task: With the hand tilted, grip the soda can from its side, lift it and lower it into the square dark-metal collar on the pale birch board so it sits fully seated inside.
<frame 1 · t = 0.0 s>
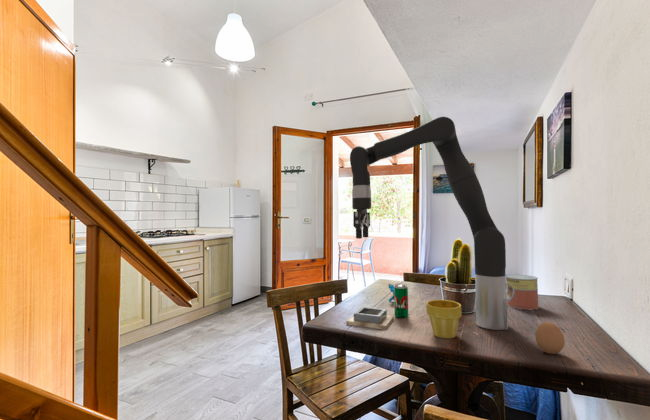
hand: (362, 237, 128), 29 cm above the table, tool pointing down, fingers open, 8 cm apart
collar: (370, 314, 115), on the board, point 2 cm above the table
plant pot: (444, 335, 101), on the table
egg: (550, 354, 86), on the table
soda can: (401, 317, 120), on the table
canned food: (522, 306, 133), on the table
board: (370, 321, 115), on the table
blue knobbly figurine: (397, 302, 143), on the table
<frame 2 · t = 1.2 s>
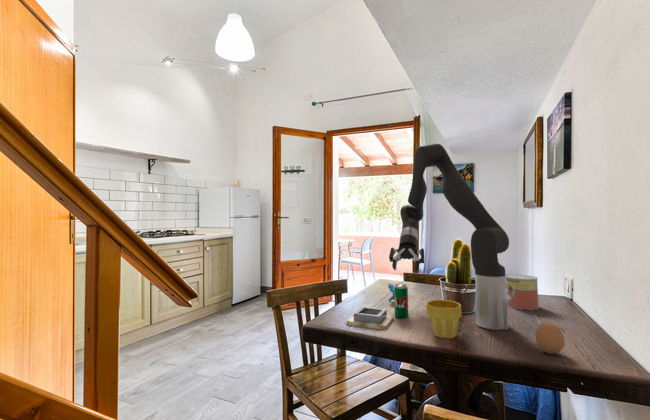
hand: (405, 269, 131), 16 cm above the table, tool tilted 45°, fingers open, 8 cm apart
nothing on the table moved.
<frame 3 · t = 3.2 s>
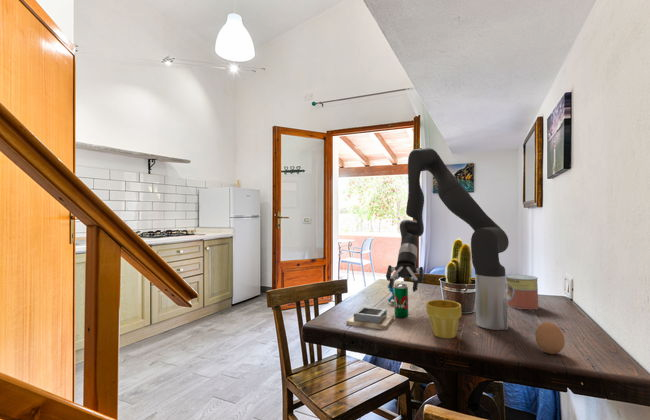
hand: (402, 289, 124), 9 cm above the table, tool tilted 45°, fingers open, 8 cm apart
nothing on the table moved.
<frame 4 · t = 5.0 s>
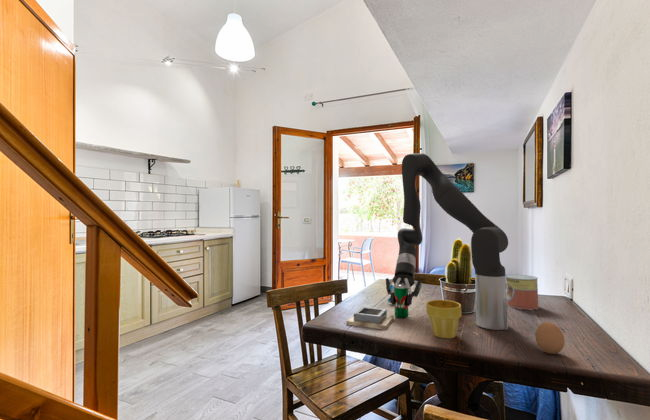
hand: (400, 304, 119), 5 cm above the table, tool tilted 45°, fingers closed on soda can, 5 cm apart
soda can: (401, 317, 120), on the table, touching gripper
everything else where it was.
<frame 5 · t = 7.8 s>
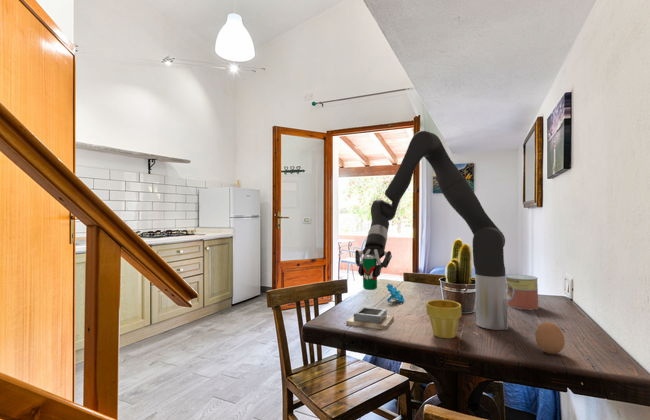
hand: (368, 275, 114), 17 cm above the table, tool tilted 45°, fingers closed on soda can, 5 cm apart
soda can: (370, 289, 116), point 11 cm above the table, touching gripper
everything else where it was.
when the fingers open (7 cm above the table, at t = 10.5 s): soda can stays where it is, resting on board.
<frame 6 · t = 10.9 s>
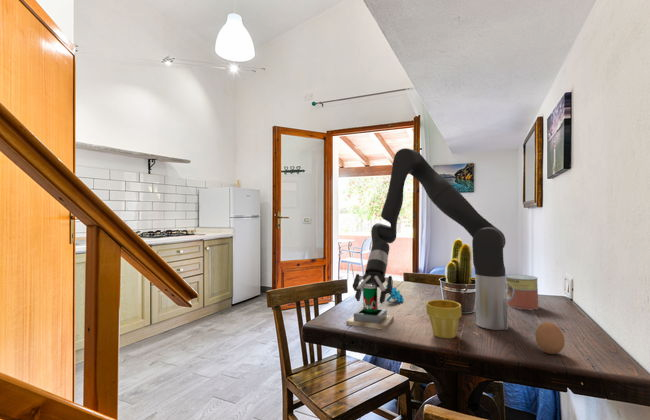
hand: (369, 301, 114), 8 cm above the table, tool tilted 45°, fingers open, 8 cm apart
soda can: (370, 318, 115), point 1 cm above the table, touching board
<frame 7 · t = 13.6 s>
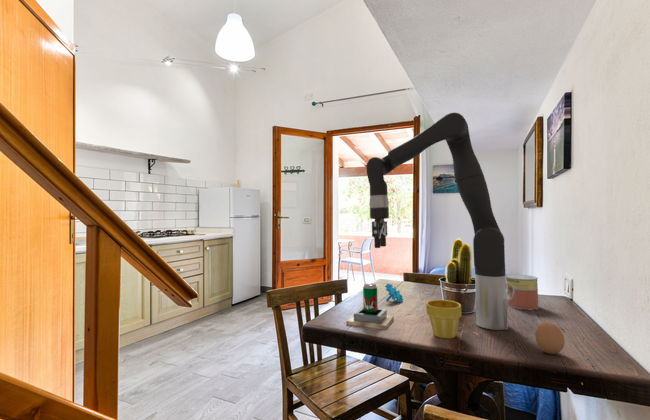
hand: (380, 247, 130), 25 cm above the table, tool pointing down, fingers open, 8 cm apart
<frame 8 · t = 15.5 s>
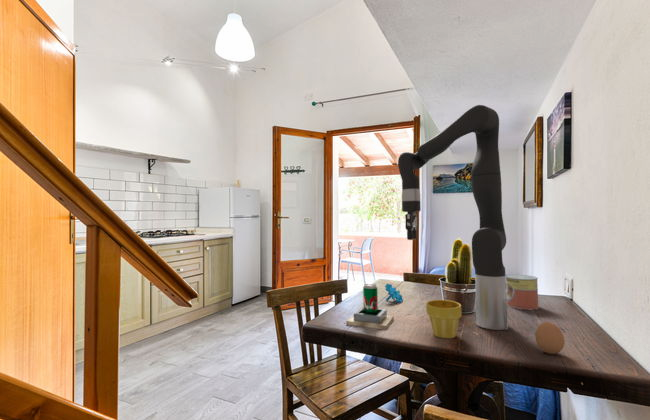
hand: (411, 239, 134), 28 cm above the table, tool pointing down, fingers open, 8 cm apart
at the end: soda can 0.2 cm from the collar (horizontally); soda can touching board; soda can tilted 0° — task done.
